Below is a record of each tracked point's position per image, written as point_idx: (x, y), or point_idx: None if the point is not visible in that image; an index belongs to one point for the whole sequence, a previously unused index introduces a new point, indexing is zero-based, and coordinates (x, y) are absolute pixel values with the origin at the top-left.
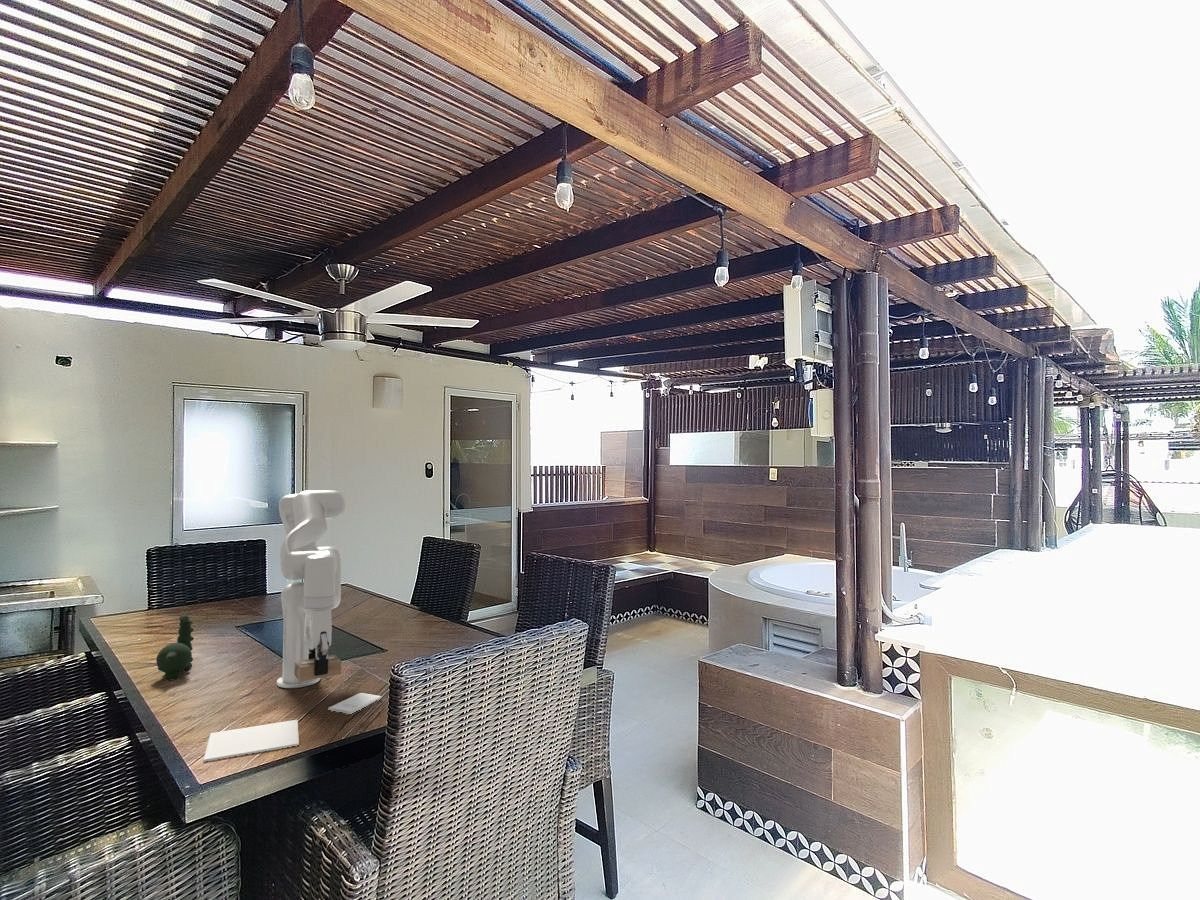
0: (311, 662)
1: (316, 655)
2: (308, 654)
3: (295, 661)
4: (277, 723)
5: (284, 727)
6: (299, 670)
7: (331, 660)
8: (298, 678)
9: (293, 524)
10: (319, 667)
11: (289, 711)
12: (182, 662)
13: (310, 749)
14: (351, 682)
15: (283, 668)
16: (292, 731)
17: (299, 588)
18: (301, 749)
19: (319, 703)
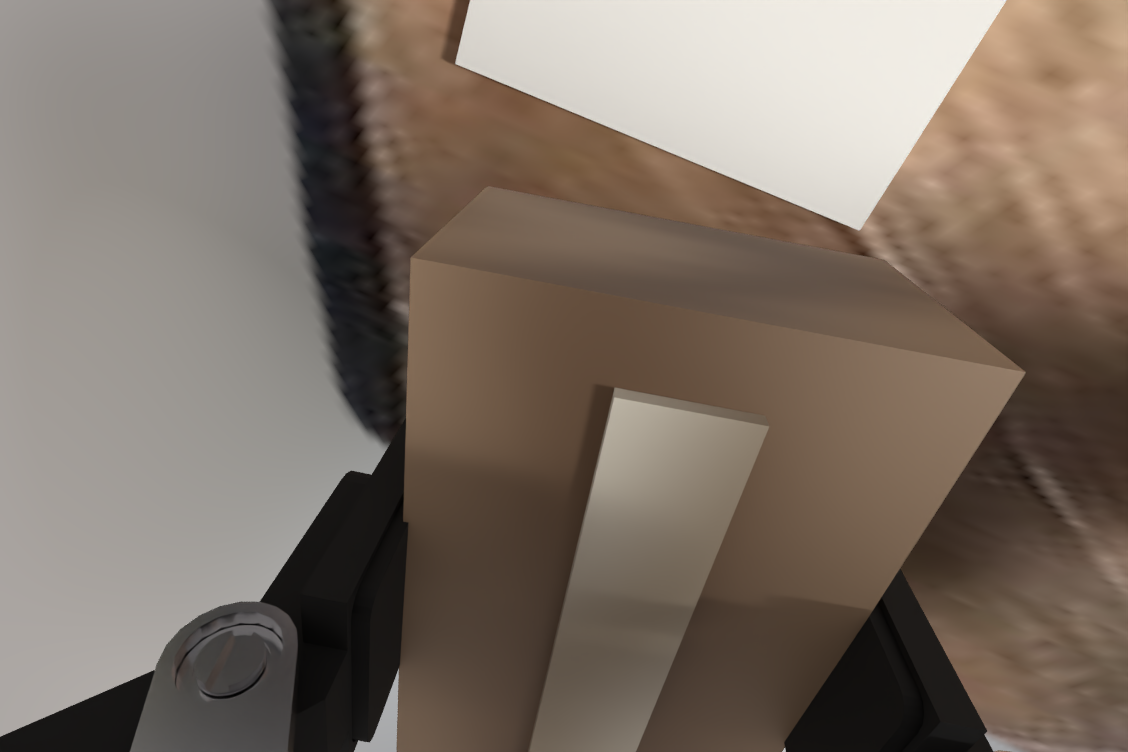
0: (578, 547)
1: (173, 729)
2: (968, 703)
3: (1011, 386)
4: (928, 91)
5: (807, 101)
6: (495, 244)
7: (483, 737)
8: (583, 210)
9: None
10: (319, 527)
11: (1086, 265)
12: None
13: (358, 99)
14: (1104, 662)
15: None
16: (687, 115)
17: None
18: (392, 53)
19: (1005, 442)
